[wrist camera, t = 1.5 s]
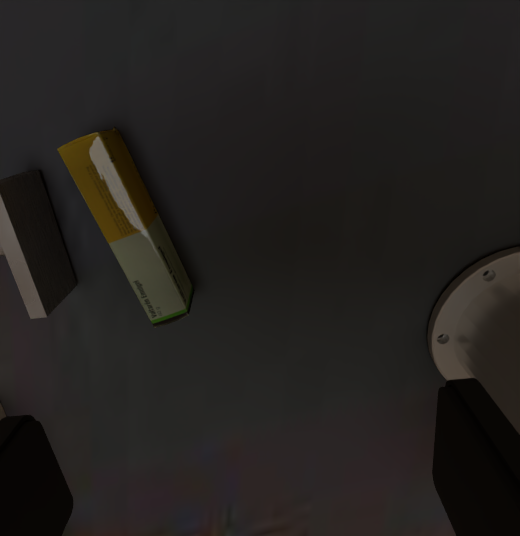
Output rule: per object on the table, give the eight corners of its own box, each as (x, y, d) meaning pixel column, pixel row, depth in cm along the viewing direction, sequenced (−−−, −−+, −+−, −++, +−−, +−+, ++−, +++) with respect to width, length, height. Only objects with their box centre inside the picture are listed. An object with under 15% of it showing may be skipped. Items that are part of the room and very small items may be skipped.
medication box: (198, 290, 29) (191, 318, 25) (164, 302, 29) (152, 331, 25) (119, 125, 24) (96, 129, 21) (80, 141, 25) (50, 148, 21)
